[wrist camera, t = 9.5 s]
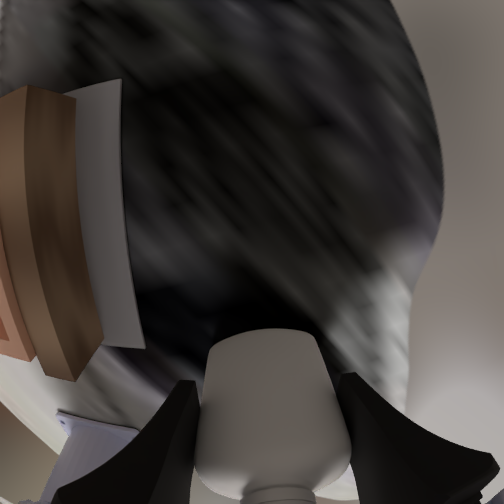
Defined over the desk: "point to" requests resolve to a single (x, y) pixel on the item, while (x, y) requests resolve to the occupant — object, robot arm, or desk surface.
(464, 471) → the robot arm
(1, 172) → the end wall
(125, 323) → the mat
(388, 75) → the desk surface
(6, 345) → the socket block
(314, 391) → the eye dropper bottle
